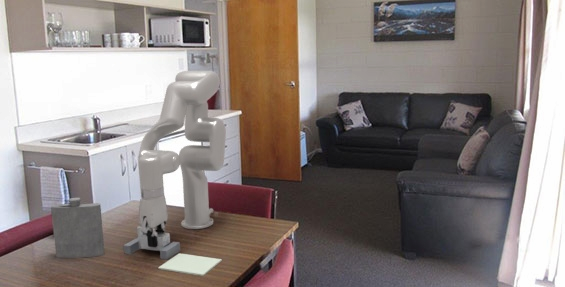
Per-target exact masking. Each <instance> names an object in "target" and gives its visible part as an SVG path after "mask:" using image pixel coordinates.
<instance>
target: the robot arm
mask: <svg viewBox="0 0 565 287" xmlns="http://www.w3.org/2000/svg"><path fill="white" fill-rule="evenodd" d="M174 80H175V81H173V82H171V83H169V84H168V85H167V88H166V91H165V94H164V99H163V104H162V108H161V112H160V117H159V119H158V121H157V122H156V123H155V124H153V126H152V127H150V129H149V130H148V131H147V132H146V134H145V135H144V136H143V138H142V139H141V140H142V141H141V144H140V148H139V151H138V157H137V165H138V166H137V168H138V177H139V188H140V199H139V207H138V208H139V209H138V214H139V215H138V216H139V218H138V219H139V226H140V227H142V228H141V232H143V233H145V234H146V236H147V240H148V246H149V247H157V242H156V236H155V231H156V232H163V233H165V230H166V224H167V221H168V219H169V216H168V207H167V201H166V196H165V187H164V175H165V174H166V175H167V174H172V173H174V172H175V171H177V170H178V169H179V168H180V170H181V174H182V176H181V177H182V189H183V190H182V191H183V207H184V208H183V210H184V219H182V221H181V223H180V226H181V227H182V228H184V229H189V230H199V229H200V230H201V229H206V228H209V227H211V226H212V225H213V224H214V218H212V217H210V215H212V214H213V213H214V209H213V208H212V207H211V208H210V207H209V204H210V203H209V183H208V178H207V175H206V173H205V171H206V172H207V171H209V172H219V171H220V170H222V168H223V167H224V163H225V152H226V138H227V137H226V129H227V128H226V126H225V123H224V121H223V120H222V119H221V118H218V117H208V116H209V115H208V114H209V103H208V100H210V99H211V98H212V97H213V96H215V94H216V93H217V91H218V90H219V88H220V85H221V84H220V82H221V80H220V77H219V75H218V73H217V72H216V71H213V70H183V71H180V72H178V73H177V74H175V77H174ZM183 126H184V136H185V139H186V140H187V141H190V142H194V143H195V142H196V143H209V145H199V144H198V145H197V144H193V145H191V144H190V145H189V144H188V145H185V146H183V147H182V148H180V150H179V154H178V153H177V152H175V151H172V150H161V149H155V148H156V146H157V144H158V142H160V140H161V139H163V138H164V137H166V136H168V135H170V134H172V133H174V132H176V131H179V130H180V129H182V128H183ZM149 229H150V230H149Z"/></svg>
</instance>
